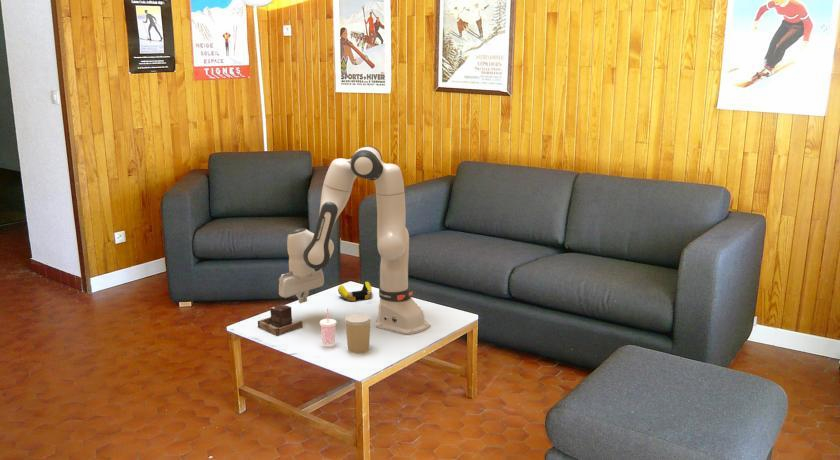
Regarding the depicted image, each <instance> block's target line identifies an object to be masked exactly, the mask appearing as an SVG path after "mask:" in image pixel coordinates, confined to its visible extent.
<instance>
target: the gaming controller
mask: <svg viewBox="0 0 840 460" xmlns="http://www.w3.org/2000/svg"><path fill="white" fill-rule="evenodd" d="M372 291H373V290H372V285H371V283H370V282H369V281H365V282H364V283H363V285H362V289H360V290H356V291H351V292H349V291H348V290H347V289H346V288H345V286H344V285H343V284H341V285H339V286H338V288H337V292H338V294H339V295H340V296H341V297H342V298H343V299H345V300H346V301H348V302H357V301H363V300H368V299H370V298H371V297H372V296H373V295H372V294H373V292H372Z"/></svg>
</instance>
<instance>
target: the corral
mask: <svg viewBox="0 0 840 460" xmlns="http://www.w3.org/2000/svg"><path fill="white" fill-rule="evenodd" d="M257 328H259V329H261V330H264V331H265V332H269V334H272V335H274V336H281V335H284V334H286V333H290V332H294V331H296V330H300V329H301V328H303V321H302V320H299V321H296V322H292V324H290V325H287V326H283V327H280V328H279V327H276V326H273V325H271V316H270V317H267V318H263V319H260V320H257Z"/></svg>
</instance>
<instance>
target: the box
mask: <svg viewBox="0 0 840 460" xmlns="http://www.w3.org/2000/svg"><path fill="white" fill-rule="evenodd" d="M269 309H270V317H271V324H270V325H271V326H273V327H276V328H280V327H283V326H287V325H290V324H293V316H292V315H293V314H292V306H290V305H286V304H283V303H282V304H278V305H275V306H273V307H270V308H269Z"/></svg>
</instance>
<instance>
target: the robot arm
mask: <svg viewBox="0 0 840 460" xmlns="http://www.w3.org/2000/svg"><path fill="white" fill-rule="evenodd" d="M327 169H328V170H327V171H326V174H325V177H324V179H323V185H322V189H321V195H320V205H319V213H318V218H317V223H316V226H315V230H314V233H313V232H312V231H310V230H308V229H307V228H295V229H293V230H292V231H290V232H289V233H288V235H287V238H286V239H287V240H286V242H287V244H286V245H287V254H288V271H289V272H287V273H282V274H281V275H280V276H279V278H278V283H279V284H278V294H279V296H280V297H282V298H284V299H286V298H289V297H292V296H293V297H294V296H296V297H297V299H298V303H300V304H302V303H307V302H308V296H309V293H310V290H311V291H312V290H314V289H317V288H320V287H323V286H324V285H325V276H324V272H323V270H322V269H324V268H325V267H327V266H328V264H329V262H330V259H331V257H332V255H333V253H334V250H335V244H334V241H333V240H332V239H331V238H332V233H333V230H334V226H335V223H336V221H337V220H338V218H339V216H340V214H341V213H342V212H343V211H344V209H345V207H346V205H347V203H348V201H349V199H350V196H351V193H352V190H353V185H354V183H355V180H356V179H357V178H360V179H365V180H368V181H371V182H372V181H373V182H374V187H375V196H376V197H375V200H376V212H377V213H376V215H377V217H376V218H377V220H376V221H377V222H376V223H377V224H376V236H377V237H376V239H377V240H376V241H377V245H376V246H377V251H378V254H379V256H380V264H379V265H380V267H379V288H378V290H379V292H378V296H379V304H378V313H377V318H376V326H375V327H376V328H378V329H383V330H385V331H386V330H387V331H391V332H394V333H397V334H401V335H405V336H407V335H414V334H419V333H420V332H424V331H426V330H428V329H429V328H430V327H431V323H430V321H427V320H425V315H424V314H425V313H424V310H422V308H421V306H419V305H418V304H417V303H416V302H415V300H414V299H413V298H412V296H413V295H414V294H413V293H414V291H410V290H411V289H410V288H409V258H410V257H409V255H410V254H409V252H410V234H409V229H408V228H407V227H406V221H407V220H406V218H407V217H406V213H407V211H406V210H407V209H406V197H405V196H406V195H405V194H406V192H405V184H404V183H405V182H404V177H403V173H402V170H401V168H400V166H399V165H397V164H395V163H385V162H384V161H383V158H382V153H381V152H380V150H379V149H378V148H376V147H374V146H372V145H365V146H361V147H360V148H359V149H357V150H356V151H355V152H354V153H353V155H351V157H350V158H349V159H348V158H341V157H339V158H335V159H333V160H332V161H331V162H330V165H329V167H328V168H327ZM302 293H303V295H302Z"/></svg>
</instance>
